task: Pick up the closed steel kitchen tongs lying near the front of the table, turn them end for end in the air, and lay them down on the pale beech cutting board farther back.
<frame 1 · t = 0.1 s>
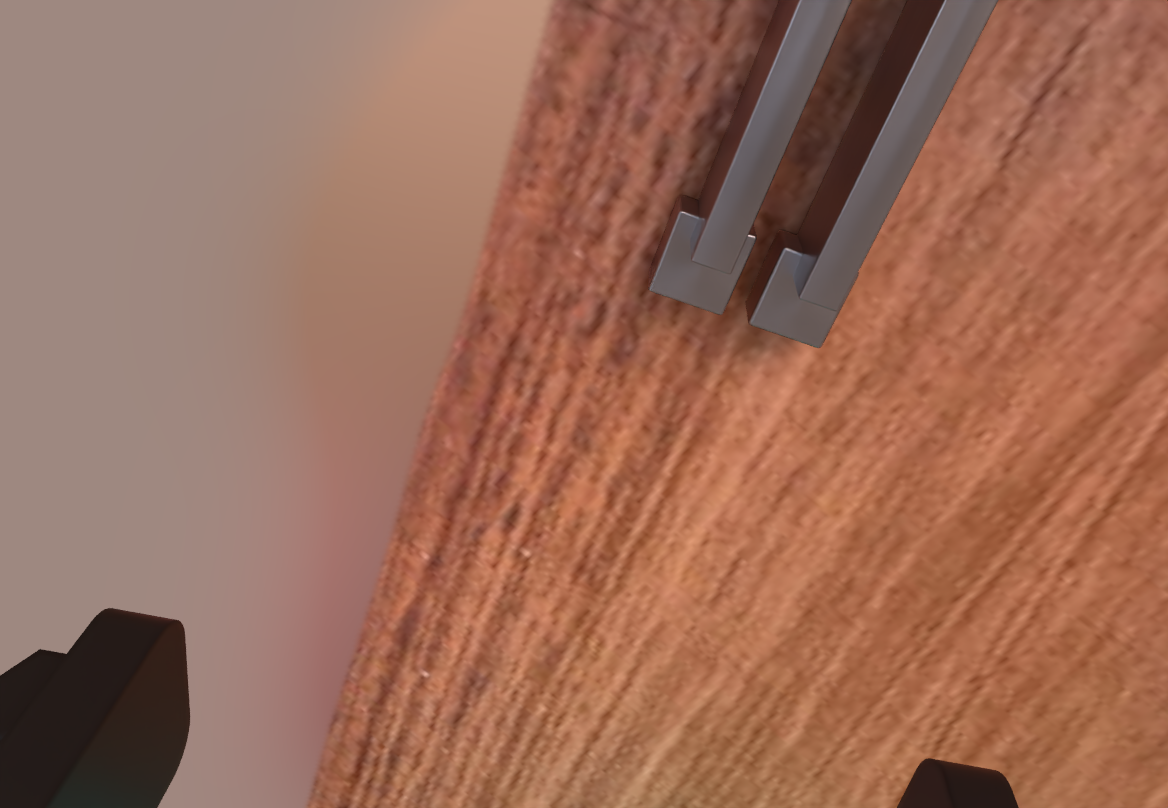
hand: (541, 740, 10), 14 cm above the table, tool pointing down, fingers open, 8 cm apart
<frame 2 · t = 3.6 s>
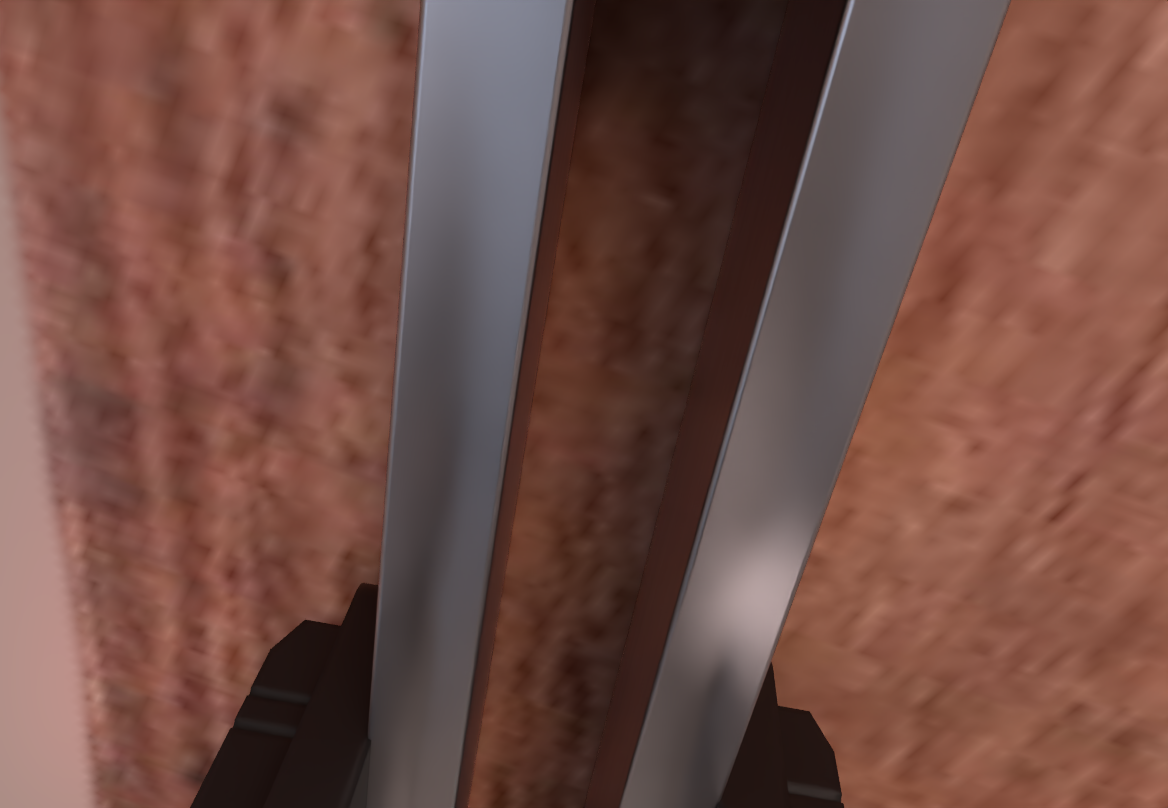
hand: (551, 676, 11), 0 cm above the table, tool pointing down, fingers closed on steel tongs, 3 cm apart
steel tongs: (554, 665, 11), on the table, touching gripper
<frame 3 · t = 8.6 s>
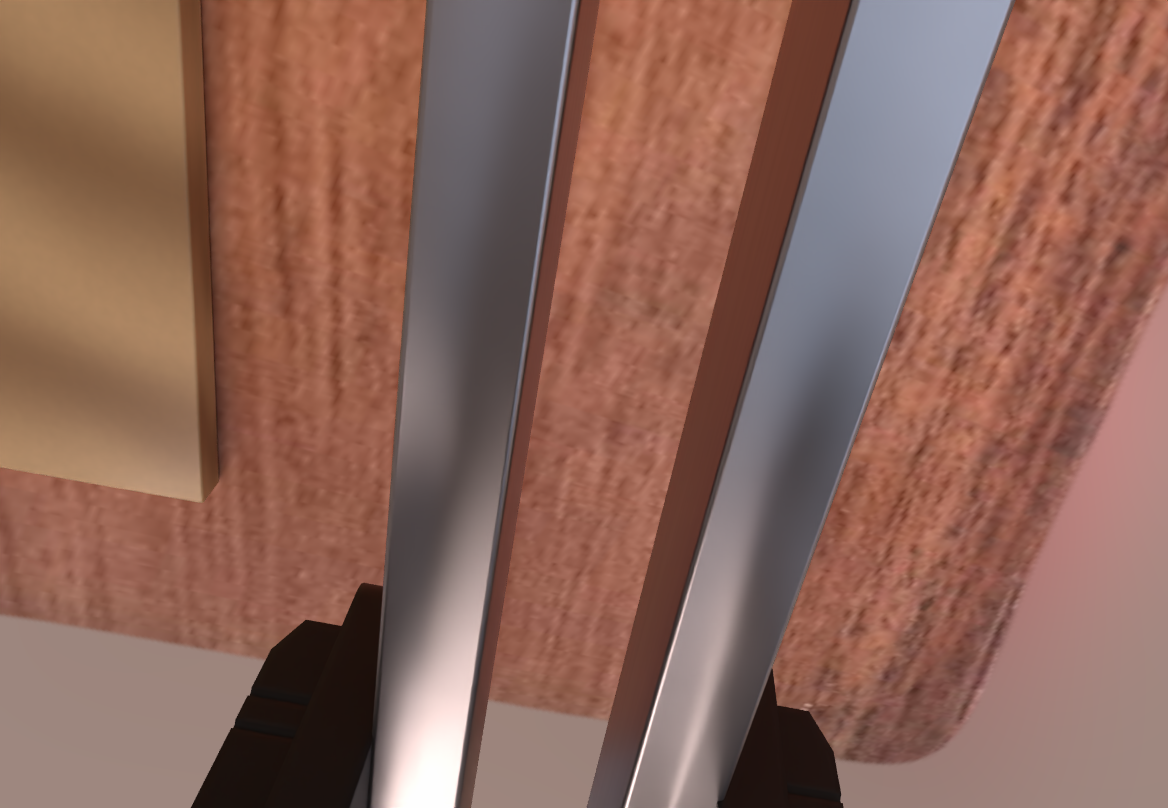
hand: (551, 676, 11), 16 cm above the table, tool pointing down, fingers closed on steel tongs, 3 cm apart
steel tongs: (557, 664, 11), point 15 cm above the table, touching gripper
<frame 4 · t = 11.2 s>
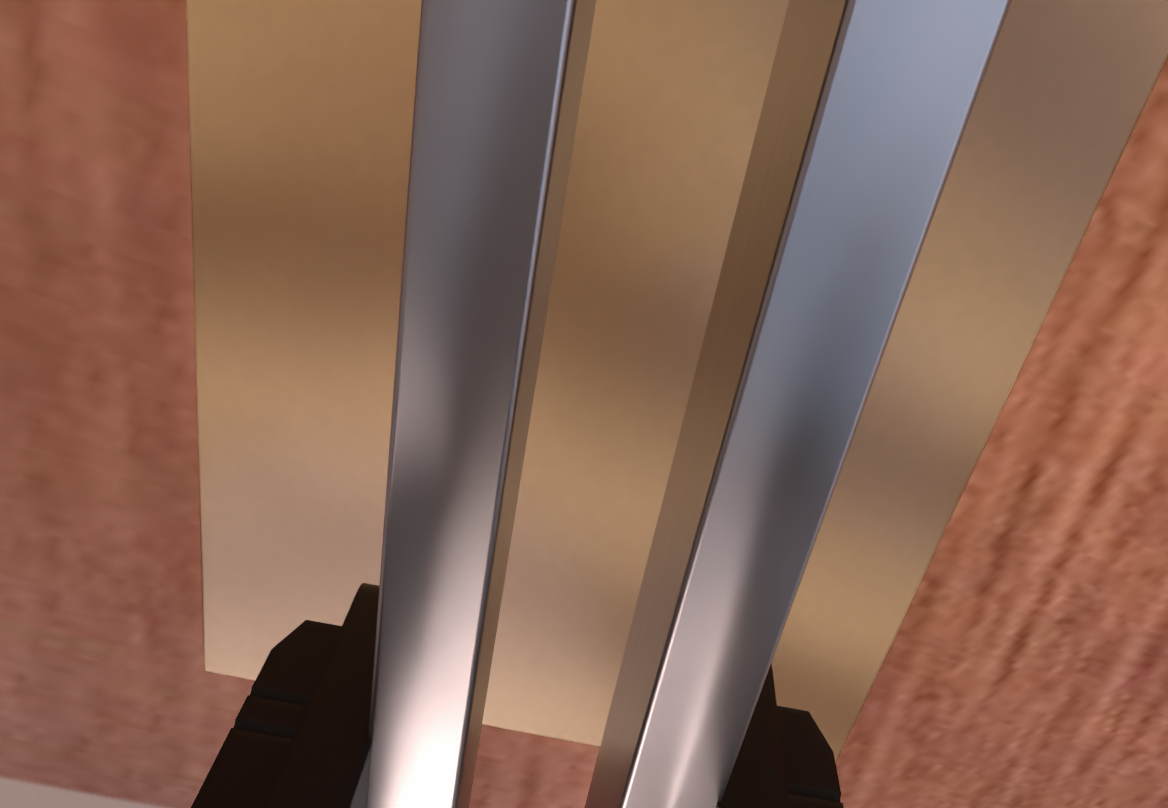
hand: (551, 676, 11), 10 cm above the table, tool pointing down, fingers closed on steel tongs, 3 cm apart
steel tongs: (555, 663, 11), point 10 cm above the table, touching gripper
cutting board: (600, 325, 20), on the table
when the fingers open (1 cm above the table, at t = 13.5 s): steel tongs stays where it is, resting on cutting board.
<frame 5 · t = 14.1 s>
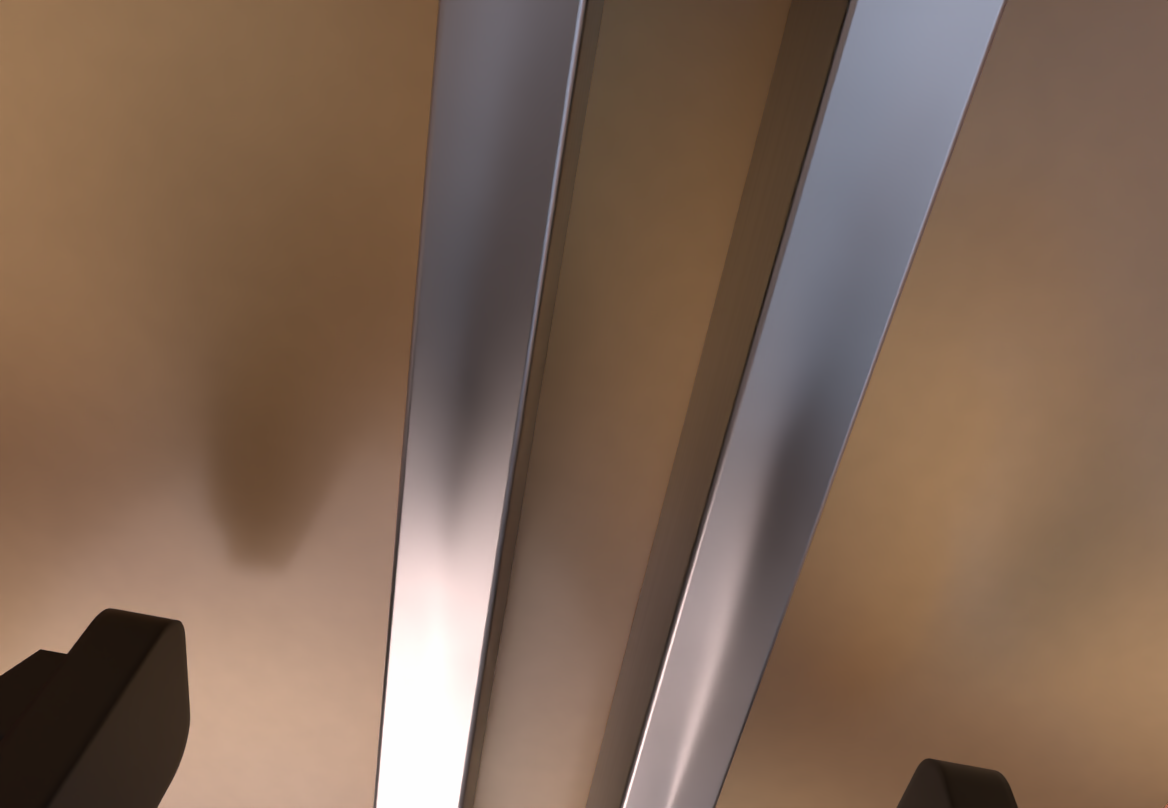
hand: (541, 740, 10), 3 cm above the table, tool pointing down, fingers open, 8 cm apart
steel tongs: (562, 645, 11), point 1 cm above the table, touching cutting board
cutting board: (565, 583, 13), on the table
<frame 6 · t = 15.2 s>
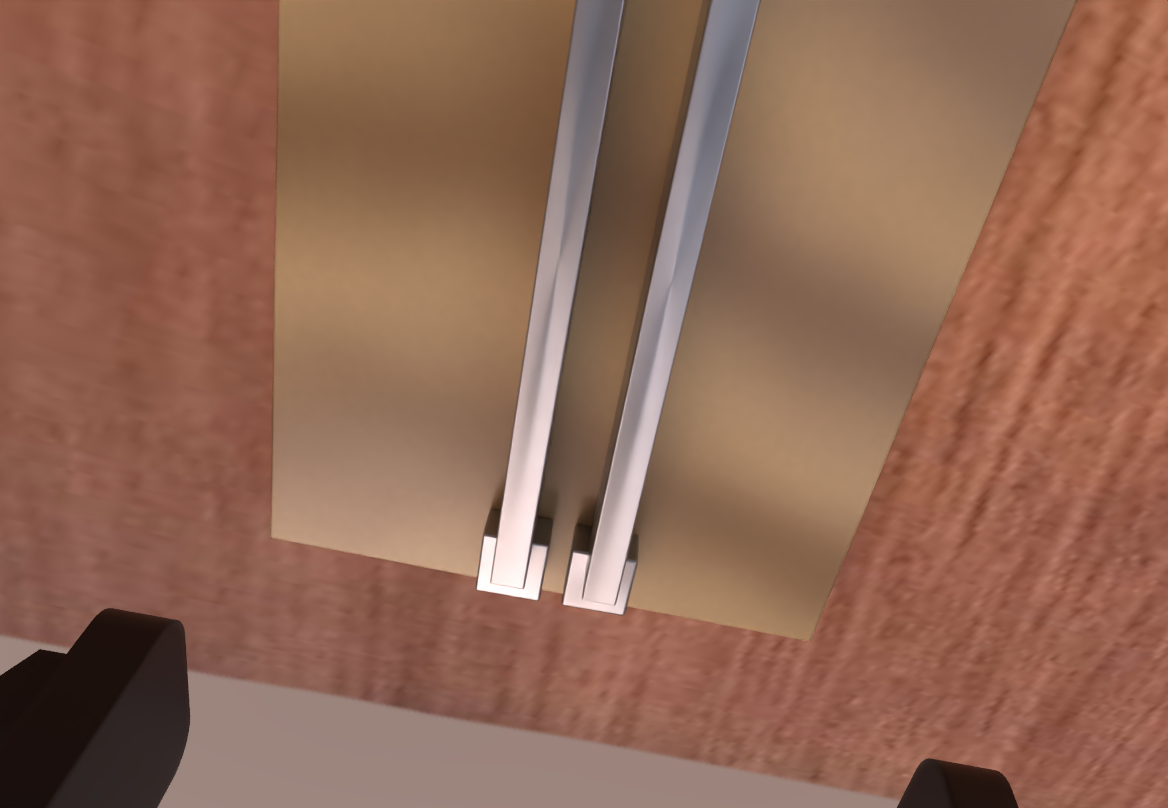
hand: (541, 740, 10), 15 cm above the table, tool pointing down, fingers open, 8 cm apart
steel tongs: (619, 235, 22), point 1 cm above the table, touching cutting board
cutting board: (618, 220, 23), on the table
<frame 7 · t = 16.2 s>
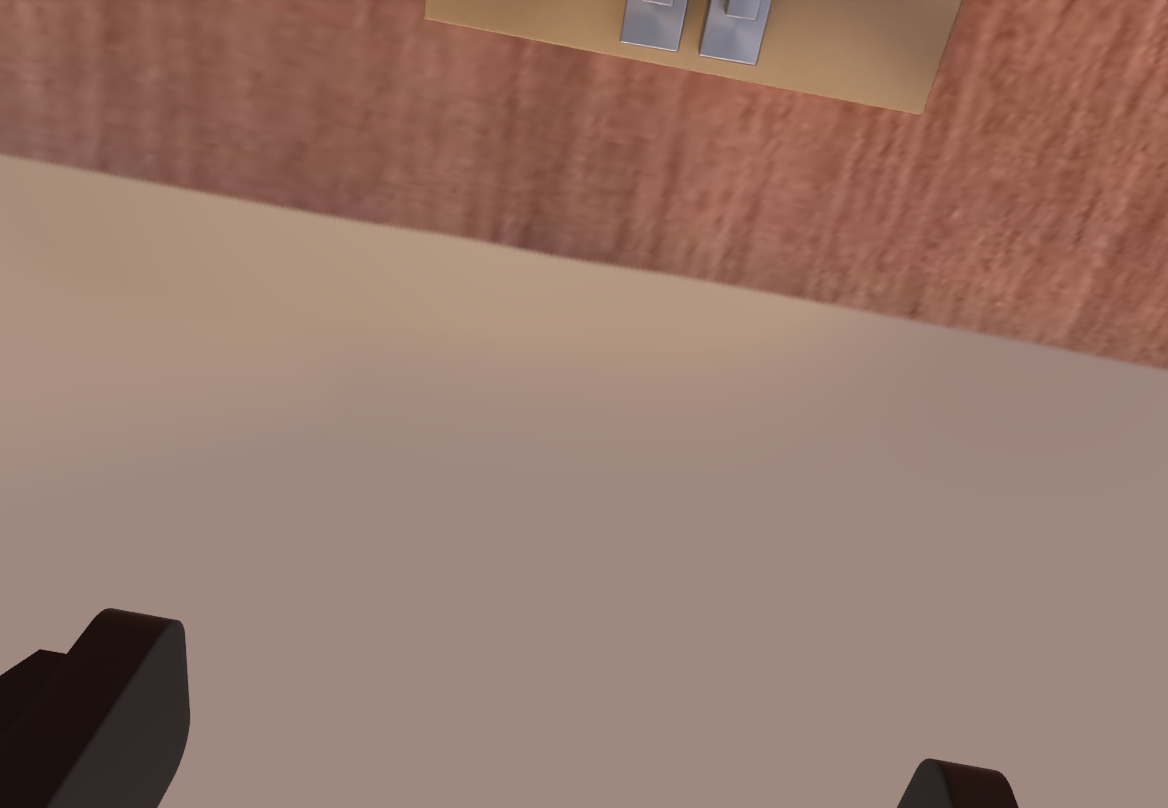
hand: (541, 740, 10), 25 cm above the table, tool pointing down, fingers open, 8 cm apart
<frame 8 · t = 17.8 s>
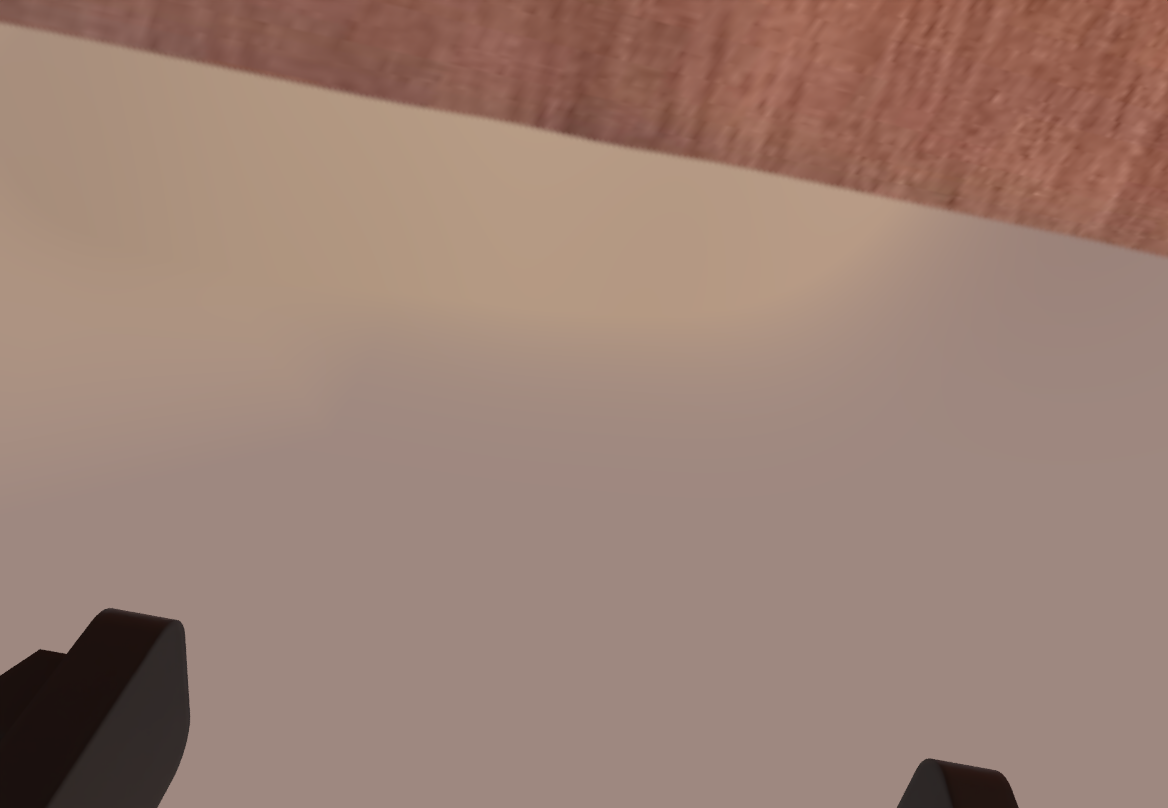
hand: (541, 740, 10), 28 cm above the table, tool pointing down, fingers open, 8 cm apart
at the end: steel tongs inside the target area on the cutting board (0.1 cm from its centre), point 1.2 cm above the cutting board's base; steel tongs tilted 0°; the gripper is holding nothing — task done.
